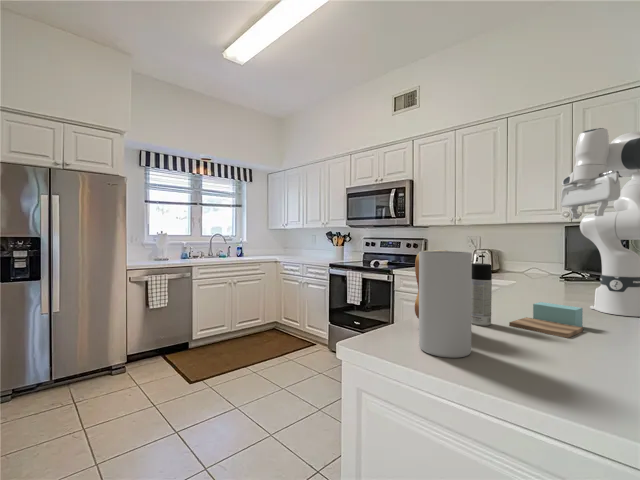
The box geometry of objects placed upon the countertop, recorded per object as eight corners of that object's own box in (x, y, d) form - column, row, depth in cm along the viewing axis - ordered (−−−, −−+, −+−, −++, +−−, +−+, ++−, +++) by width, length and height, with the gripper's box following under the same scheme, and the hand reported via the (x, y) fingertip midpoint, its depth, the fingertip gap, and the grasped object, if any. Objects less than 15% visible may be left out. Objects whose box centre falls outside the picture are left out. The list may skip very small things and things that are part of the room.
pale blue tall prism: (540, 319, 117) (540, 302, 117) (582, 326, 107) (582, 307, 107) (533, 321, 113) (533, 303, 113) (575, 329, 104) (575, 310, 104)
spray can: (486, 321, 114) (486, 263, 114) (495, 326, 107) (495, 264, 107) (466, 320, 115) (466, 263, 114) (473, 326, 108) (473, 264, 108)
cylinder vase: (408, 345, 88) (409, 251, 88) (446, 340, 93) (446, 250, 92) (442, 361, 76) (442, 253, 76) (482, 355, 81) (483, 252, 81)
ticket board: (526, 320, 115) (526, 316, 115) (582, 331, 102) (582, 326, 102) (509, 325, 108) (509, 321, 108) (567, 338, 95) (567, 333, 95)
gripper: (628, 170, 101) (625, 215, 100) (574, 183, 121) (572, 221, 121) (608, 167, 101) (605, 212, 100) (558, 181, 121) (555, 219, 121)
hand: (586, 217), depth 111 cm, fingers open, 8 cm apart
